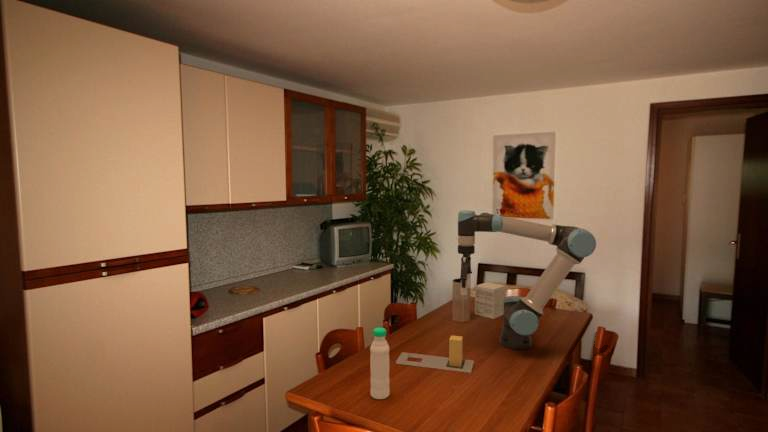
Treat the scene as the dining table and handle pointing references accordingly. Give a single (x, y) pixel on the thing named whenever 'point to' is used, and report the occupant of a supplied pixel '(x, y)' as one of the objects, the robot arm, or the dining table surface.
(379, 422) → the dining table surface
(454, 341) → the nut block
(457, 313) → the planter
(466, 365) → the white flat board
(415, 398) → the dining table surface
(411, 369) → the dining table surface
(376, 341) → the water bottle
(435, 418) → the dining table surface
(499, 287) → the supplement box
